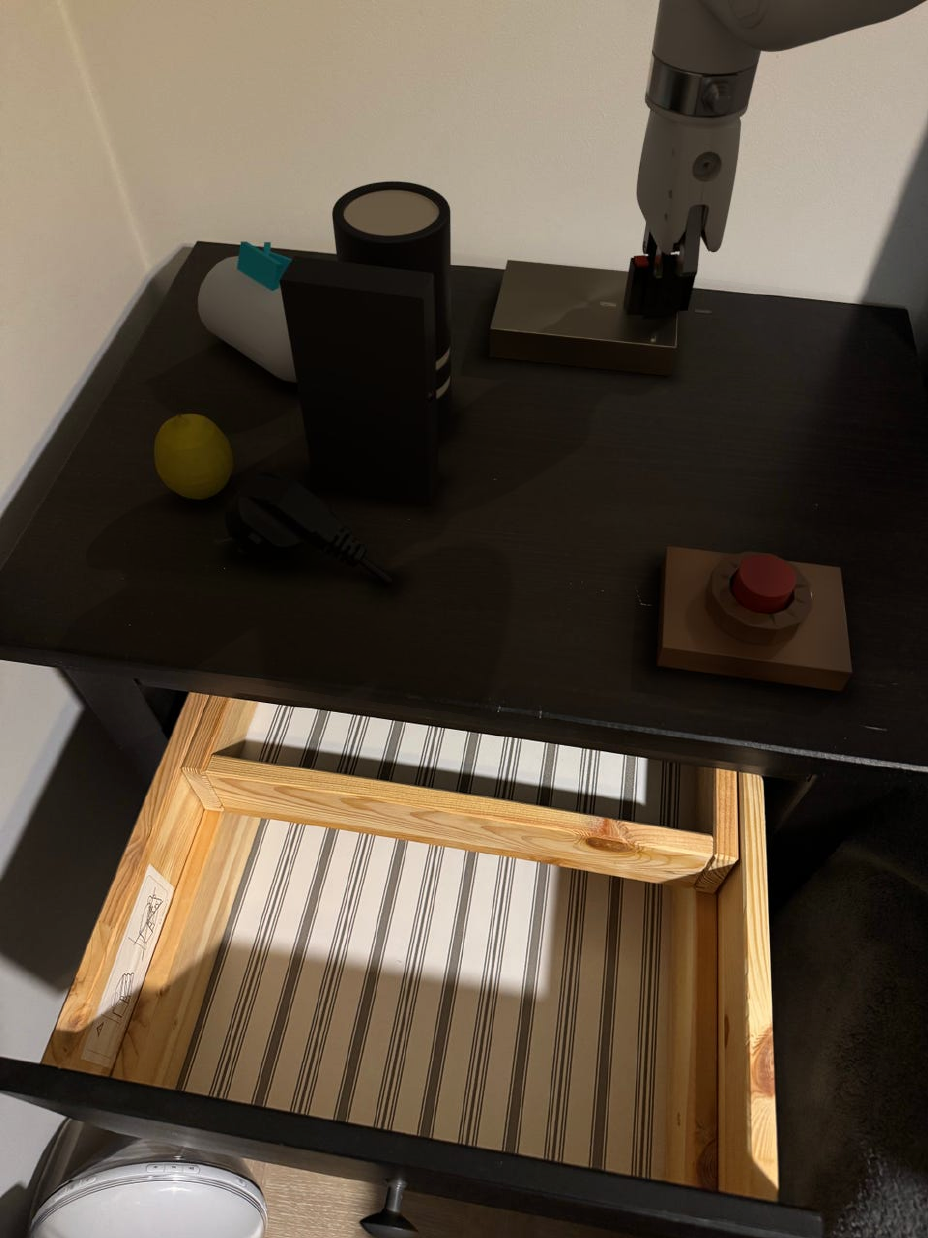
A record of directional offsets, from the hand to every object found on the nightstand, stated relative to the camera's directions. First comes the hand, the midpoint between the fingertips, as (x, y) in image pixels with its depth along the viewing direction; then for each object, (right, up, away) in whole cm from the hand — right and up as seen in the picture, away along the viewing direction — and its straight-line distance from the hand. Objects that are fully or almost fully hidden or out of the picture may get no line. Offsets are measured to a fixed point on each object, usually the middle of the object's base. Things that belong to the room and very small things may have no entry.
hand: (656, 304), depth 80 cm
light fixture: (-23, -13, -6) cm, 27 cm away
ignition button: (+3, -26, -20) cm, 33 cm away
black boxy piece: (0, 0, 0) cm, 0 cm away
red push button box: (+3, -28, -18) cm, 33 cm away
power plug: (-28, -24, -14) cm, 39 cm away
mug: (-32, -4, +1) cm, 32 cm away
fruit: (-37, -18, -10) cm, 42 cm away
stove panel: (-5, -1, +3) cm, 6 cm away
